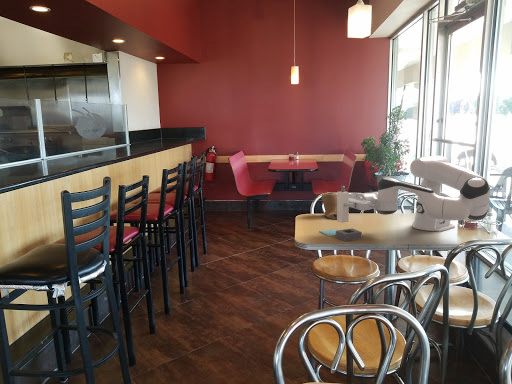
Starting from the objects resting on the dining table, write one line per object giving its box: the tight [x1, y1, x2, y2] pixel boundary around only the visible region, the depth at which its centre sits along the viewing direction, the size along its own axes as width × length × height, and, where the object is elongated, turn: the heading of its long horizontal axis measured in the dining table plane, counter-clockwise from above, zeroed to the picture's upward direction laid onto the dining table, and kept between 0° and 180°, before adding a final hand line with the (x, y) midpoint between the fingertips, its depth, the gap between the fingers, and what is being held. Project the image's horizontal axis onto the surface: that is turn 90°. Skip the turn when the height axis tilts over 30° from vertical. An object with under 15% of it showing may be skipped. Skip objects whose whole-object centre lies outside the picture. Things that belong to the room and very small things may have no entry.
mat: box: [318, 228, 338, 238], centre depth 214 cm, size 10×10×1 cm
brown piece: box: [321, 191, 337, 220], centre depth 248 cm, size 15×12×15 cm
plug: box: [336, 185, 350, 223], centre depth 204 cm, size 4×4×18 cm
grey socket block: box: [335, 228, 362, 242], centre depth 205 cm, size 10×8×4 cm
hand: (341, 204), depth 204 cm, fingers closed on plug, 4 cm apart
